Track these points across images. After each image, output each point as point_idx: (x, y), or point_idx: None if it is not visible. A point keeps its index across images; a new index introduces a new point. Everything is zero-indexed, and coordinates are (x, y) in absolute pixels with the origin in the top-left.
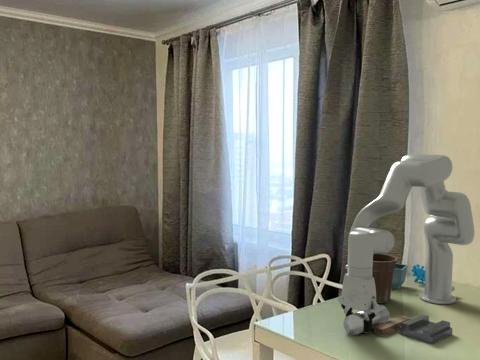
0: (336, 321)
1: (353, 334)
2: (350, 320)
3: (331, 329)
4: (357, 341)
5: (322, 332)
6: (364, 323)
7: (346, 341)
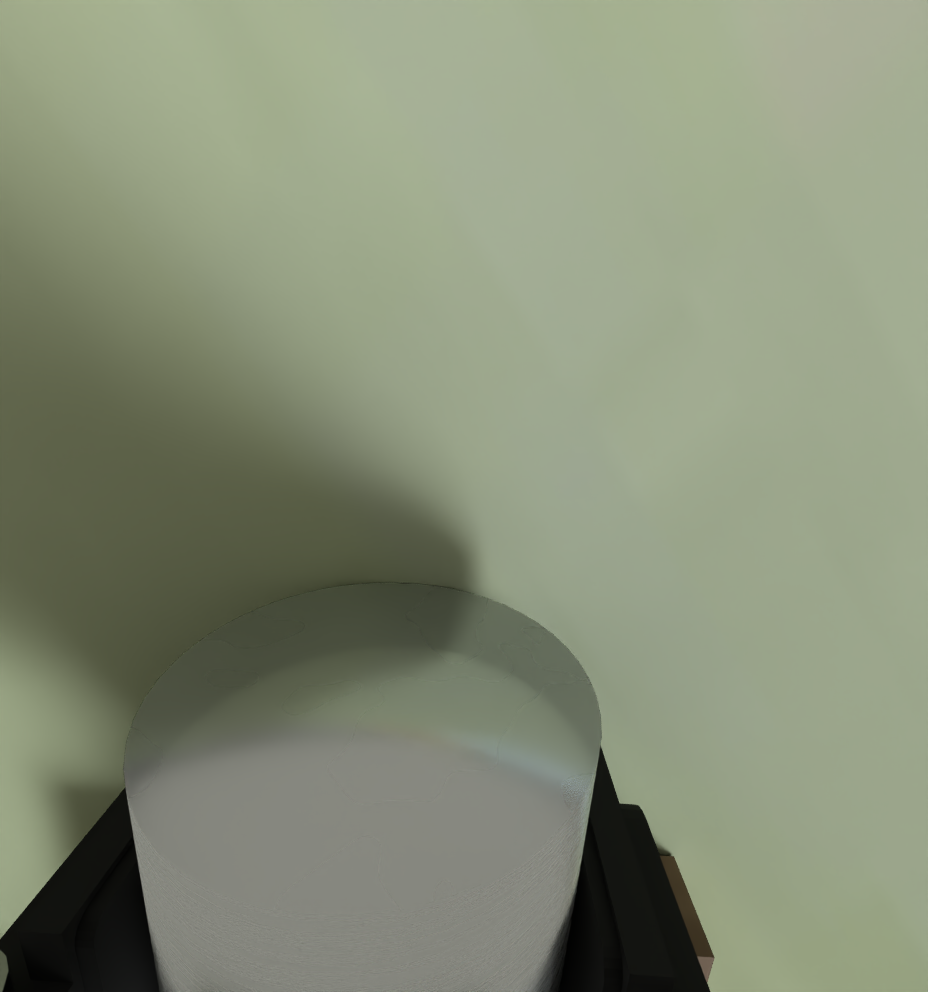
0: (843, 845)
1: (365, 591)
2: (392, 762)
3: (760, 561)
4: (190, 439)
5: (824, 338)
6: (117, 845)
7: (295, 302)
